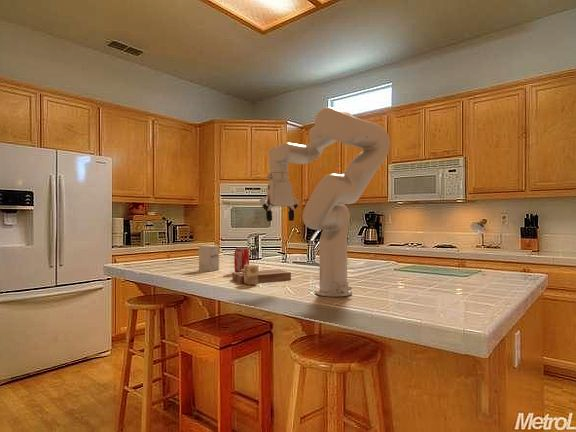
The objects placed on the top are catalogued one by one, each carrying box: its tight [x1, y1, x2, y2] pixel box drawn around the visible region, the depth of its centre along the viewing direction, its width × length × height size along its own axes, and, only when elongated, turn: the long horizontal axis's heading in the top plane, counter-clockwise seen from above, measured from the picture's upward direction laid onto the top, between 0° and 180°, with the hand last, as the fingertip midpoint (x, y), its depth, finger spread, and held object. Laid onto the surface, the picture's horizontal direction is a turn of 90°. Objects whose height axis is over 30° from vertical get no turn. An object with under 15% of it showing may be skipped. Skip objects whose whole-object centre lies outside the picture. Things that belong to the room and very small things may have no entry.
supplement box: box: [198, 244, 220, 273], centre depth 187 cm, size 7×7×13 cm
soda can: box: [233, 247, 250, 272], centre depth 178 cm, size 7×7×12 cm
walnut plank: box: [231, 268, 292, 285], centre depth 158 cm, size 12×22×3 cm, turn 116°
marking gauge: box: [241, 264, 259, 286], centre depth 149 cm, size 14×4×7 cm, turn 26°
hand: (280, 220), depth 148 cm, fingers open, 9 cm apart
